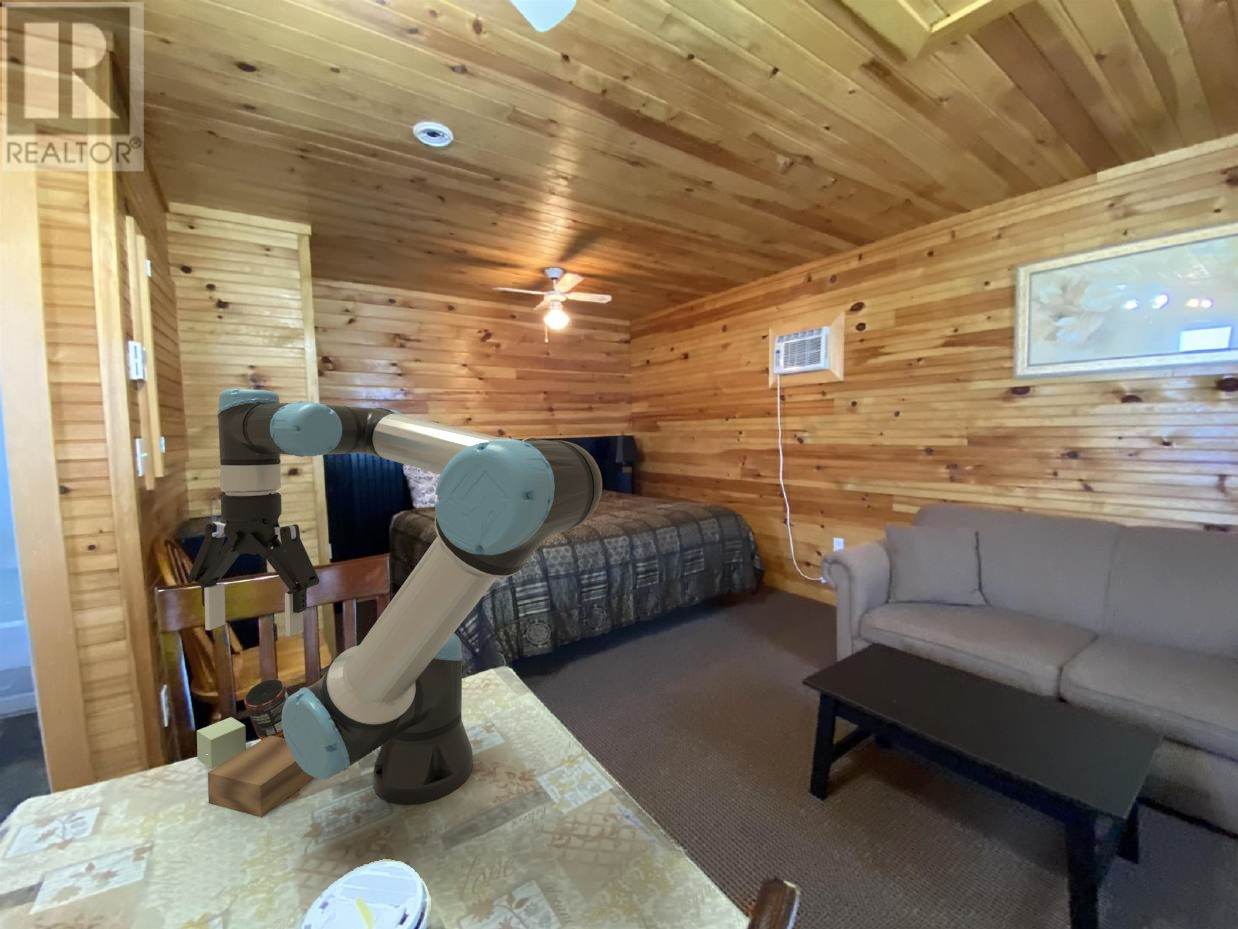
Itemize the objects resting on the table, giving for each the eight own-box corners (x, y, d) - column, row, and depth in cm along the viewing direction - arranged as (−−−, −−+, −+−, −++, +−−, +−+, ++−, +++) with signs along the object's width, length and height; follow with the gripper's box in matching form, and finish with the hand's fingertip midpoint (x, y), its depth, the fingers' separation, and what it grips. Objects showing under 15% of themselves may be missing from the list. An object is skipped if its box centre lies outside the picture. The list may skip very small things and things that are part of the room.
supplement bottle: (262, 675, 91) (278, 720, 96) (234, 703, 86) (252, 749, 90) (292, 680, 90) (307, 725, 95) (266, 708, 85) (283, 755, 90)
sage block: (246, 753, 89) (245, 725, 89) (211, 769, 85) (210, 740, 84) (231, 744, 92) (231, 717, 91) (197, 759, 87) (196, 730, 87)
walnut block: (318, 775, 84) (318, 745, 84) (261, 819, 74) (260, 785, 74) (270, 764, 87) (269, 735, 86) (208, 805, 77) (207, 772, 77)
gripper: (343, 492, 81) (345, 626, 82) (202, 487, 84) (205, 616, 85) (308, 497, 73) (310, 645, 74) (155, 492, 77) (159, 633, 78)
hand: (254, 630), depth 80 cm, fingers open, 13 cm apart
